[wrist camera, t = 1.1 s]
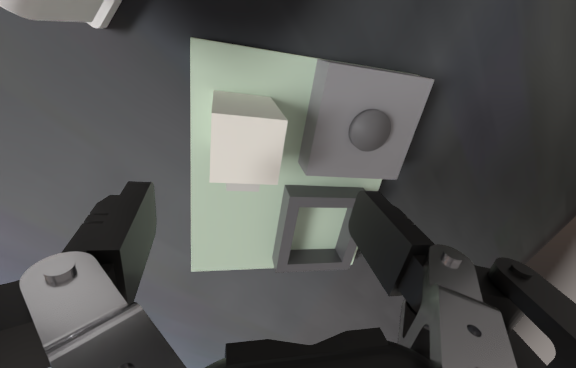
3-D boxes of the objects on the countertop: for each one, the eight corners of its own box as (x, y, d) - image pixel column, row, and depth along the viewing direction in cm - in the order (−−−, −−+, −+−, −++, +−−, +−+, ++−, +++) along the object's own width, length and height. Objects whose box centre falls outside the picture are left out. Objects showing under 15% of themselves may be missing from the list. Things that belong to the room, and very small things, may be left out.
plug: (213, 90, 19) (211, 112, 14) (270, 96, 20) (287, 120, 15) (211, 154, 21) (208, 194, 16) (262, 157, 22) (275, 196, 17)
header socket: (284, 184, 24) (289, 196, 22) (363, 187, 26) (373, 198, 24) (272, 257, 28) (275, 272, 26) (341, 255, 30) (348, 269, 28)
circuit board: (191, 37, 18) (185, 39, 15) (411, 73, 23) (446, 81, 19) (191, 263, 27) (188, 298, 24) (348, 258, 32) (364, 286, 28)
